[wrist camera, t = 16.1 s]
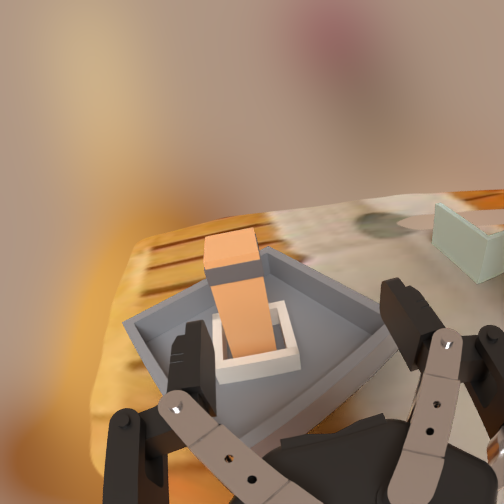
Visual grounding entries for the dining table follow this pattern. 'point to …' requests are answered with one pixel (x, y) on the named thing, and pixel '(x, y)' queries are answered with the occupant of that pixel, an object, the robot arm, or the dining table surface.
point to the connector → (239, 291)
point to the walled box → (284, 358)
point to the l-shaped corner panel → (468, 245)
